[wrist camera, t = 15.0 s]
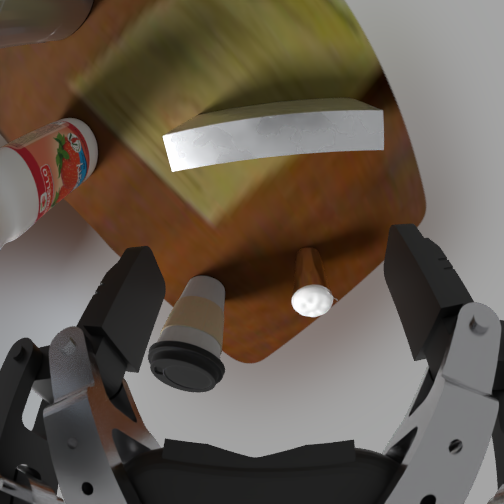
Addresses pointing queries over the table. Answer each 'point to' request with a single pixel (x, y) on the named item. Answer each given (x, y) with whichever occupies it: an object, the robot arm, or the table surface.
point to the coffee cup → (192, 339)
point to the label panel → (275, 131)
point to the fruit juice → (42, 172)
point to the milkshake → (310, 284)
